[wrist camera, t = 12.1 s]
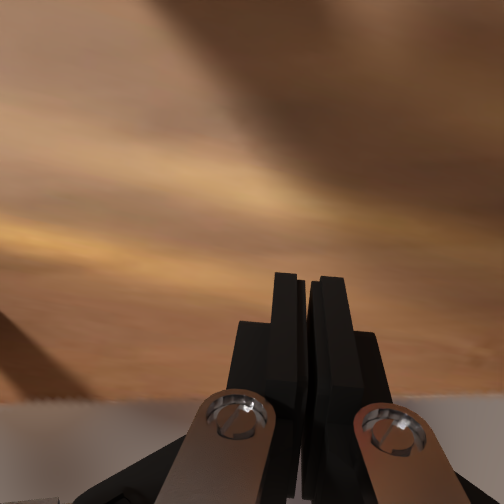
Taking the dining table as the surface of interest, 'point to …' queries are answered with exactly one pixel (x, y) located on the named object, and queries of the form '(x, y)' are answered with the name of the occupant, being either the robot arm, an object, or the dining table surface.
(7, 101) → the dining table surface
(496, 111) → the dining table surface
